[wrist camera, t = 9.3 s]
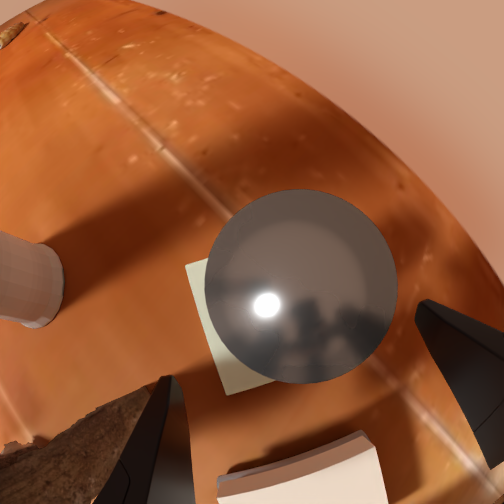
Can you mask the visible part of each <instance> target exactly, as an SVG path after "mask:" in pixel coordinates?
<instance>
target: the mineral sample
mask: <svg viewBox="0 0 504 504" xmlns="http://www.w3.org/2000/svg"><path fill="white" fill-rule="evenodd" d="M150 396H151V395H150V393H149V391H148V390H147V388H146V386H143V387H141V388H140V389H138V390H136V391H134V392H132V393H129V394H127V395H125V396H122V397H120V398H118V399H116V400H113V401H111V402H109V403H106V404H104V405H102V406H100V407H97V408H96V410H95V411H93V412H91V413H89V414H87V415H86V416H85V418H82V419H79V420H78V421H77V422H76V423H75V424H73V425H72V426H71V427H70V428H69V429H67V430H65V431H64V432H62V433H60V434H58V435H57V436H56V437H55V438H54V439H53V440H52V441H51V442H50V443H49V444H48V445H47V446H46V447H44V448H42V449H39V448H38V447H37V446H36V445H34V444H31V443H29V442H28V443H27V444H26V445H21V444H19V443H18V442H17V441H14V442H10V443H8V444H5V445H4V446H5V448H4V450H3V451H2V452H1V454H0V504H90V503H91V500H92V499H94V498H95V497H96V496H97V495H98V494H99V493H100V491H101V490H102V488H103V486H104V485H105V483H106V481H107V480H108V478H109V476H110V474H111V472H112V471H113V469H114V467H115V465H116V463H117V461H118V459H120V458H119V457H120V455H121V453H122V451H123V449H124V447H125V445H126V443H127V441H128V439H129V437H130V435H131V433H132V431H133V429H134V427H135V425H136V423H137V421H138V419H139V417H140V415H141V413H142V411H143V409H144V407H145V405H146V403H147V401H148V400H149V398H150Z"/></svg>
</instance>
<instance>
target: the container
mask: <svg viewBox="0 0 504 504" xmlns="http://www.w3.org/2000/svg"><path fill="white" fill-rule="evenodd" d="M64 284H65V280H64V271H63V267H62V264H61V261H60V259H59V257H58V255H57V254H56V253H55V251H54V250H53V249H52V248H50V247H48V246H46V245H45V244H33V243H30V242H28V241H25V240H23V239H20V238H18V237H15V236H13V235H10V234H8V233H5V232H3V231H0V319H5V320H10V321H15V322H20V323H21V324H23V325H24V326H26V327H30V328H33V329H35V328H40V327H44V326H45V325H47V324H48V323H49V322H50V321H52V320H53V318H54V317H55V315H56V313H57V312H58V310H59V308H60V305H61V302H62V299H63V294H64Z"/></svg>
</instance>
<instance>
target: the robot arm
mask: <svg viewBox="0 0 504 504" xmlns="http://www.w3.org/2000/svg"><path fill="white" fill-rule="evenodd" d="M415 323H416V325H417V327H418V329H419V331H420V333H421V336H422V338H423V340H424V342H425V344H426V346H427V348H428V350H429V352H430V354H431V356H432V358H433V359H434V361H435V363H436V364H437V366H438V368H439V369H440V371H441V373H442V375H443V376H444V378H445V380H446V382H447V383H448V385H449V387H450V389H451V391H452V392H453V394H454V396H455V398H456V400H457V402H458V403H459V405H460V407H461V409H462V411H463V413H464V415H465V417H466V419H467V421H468V423H469V425H470V427H471V429H472V431H473V432H474V435H475V438H476V440H477V442H478V444H479V446H480V448H481V450H482V453H483V455H484V457H485V460H486V462H487V464H488V467H489V468H490V470H491V469H493V468H494V467H496V466H497V465H499V464H500V463H502V462H503V461H504V332H501V331H499V330H497V329H495V328H493V327H491V326H488V325H486V324H484V323H482V322H480V321H477V320H475V319H473V318H471V317H468V316H466V315H464V314H462V313H460V312H457V311H455V310H453V309H450V308H448V307H446V306H444V305H441V304H439V303H437V302H435V301H432V300H430V299H426V300H423V301H421V302H419V304H418V307H417V311H416V314H415ZM119 458H120V459H118V461H117V463H116V465H115V467H114V469H113V471H112V472H111V474H110V476H109V478H108V480H107V481H106V483H105V485H104V486H103V488H102V490H101V491H100V493H99V494H98V496H97V497H96V499H95V500H94V502H93V503H92V504H196V502H195V493H194V483H193V472H192V460H191V447H190V433H189V426H188V421H187V415H186V409H185V403H184V397H183V392H182V389H181V387H180V385H179V384H178V382H177V381H176V379H175V378H174V376H173V375H166V376H161V377H160V378H159V380H158V382H157V384H156V386H155V388H154V390H153V392H152V394H151V396H150V398H149V400H148V401H147V403H146V405H145V407H144V409H143V411H142V413H141V415H140V417H139V419H138V421H137V423H136V425H135V427H134V429H133V431H132V433H131V435H130V437H129V439H128V441H127V443H126V445H125V447H124V449H123V451H122V453H121V455H120V457H119ZM493 504H504V494H503V495H502V496H501V497H500V498H499V499H498V500H497V501H496V502H494V503H493Z"/></svg>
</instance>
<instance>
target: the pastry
mask: <svg viewBox="0 0 504 504" xmlns="http://www.w3.org/2000/svg"><path fill="white" fill-rule="evenodd" d="M23 27H24V24H23V23H22V22H19V23H16V24H14V25H13V26H10V27H9V28H7V29H6V30H5V31H3V32H2V33H1V34H0V49H2V48H4V47H5V46H6V45H8V43H9V42H11V39H13V38H15V37H16V36H17V34H19V32H20V31H21V30H22V29H23Z"/></svg>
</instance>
